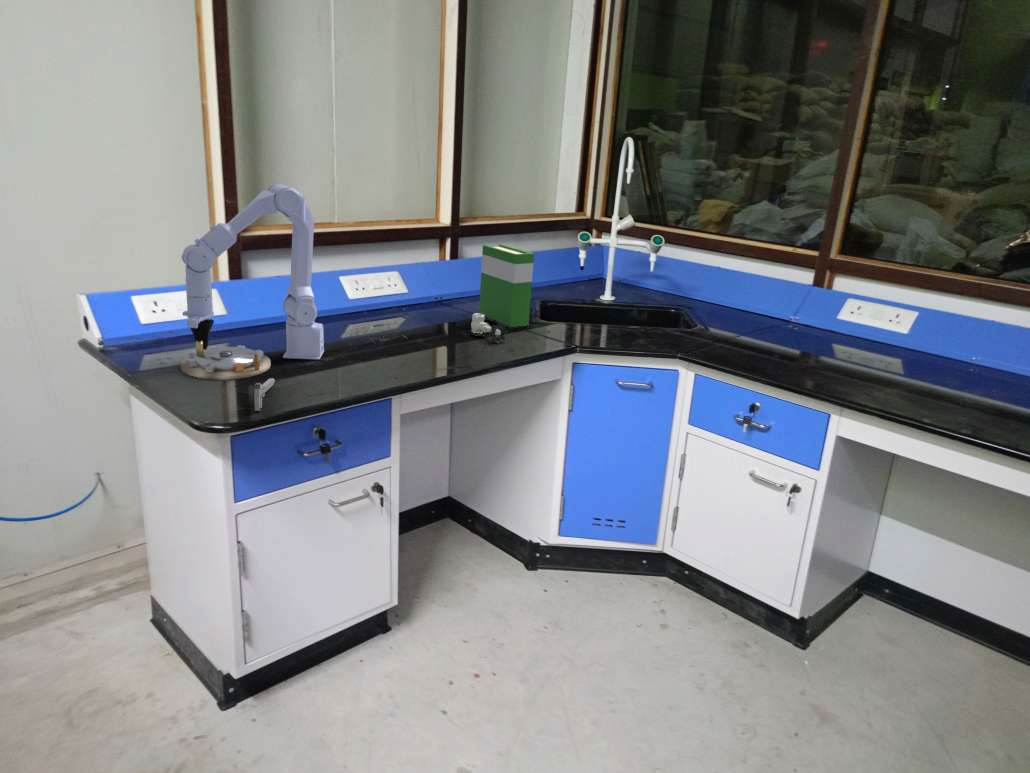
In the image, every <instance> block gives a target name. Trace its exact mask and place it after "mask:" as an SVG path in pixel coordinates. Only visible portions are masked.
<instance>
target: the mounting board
mask: <svg viewBox="0 0 1030 773" xmlns="http://www.w3.org/2000/svg"><path fill="white" fill-rule="evenodd" d="M254 357H255V365H253V366H251V367H247V368H244V371H240V372H236V371H234V370H228V371H214V372H213V373H212V372H205V369H203V368H199V367H197V366H196V367H189V366H188V365H187V359H189V356H187V357H186V358H184V359H183V360H182V361H181V362H180V370H181V372H182V373H183V374H185V375H187V376H189V377H192V376H193V377H192V378H196V377H197V379H201V378H202V379H203V380H212V381H218V380H219V381H225V380H226V381H228V380H238V379H239V380H240V379H247V378H250V377H254V376H258V375H261V374H263V373H265V372H267V371H268V370H270V368H271V366H272V364H271V362H272V361H271V358H269V357H268V356H267V355H265V354H263V357H261V358H263V364H262V365H261V366H259V354H254ZM202 379H201V380H202Z"/></svg>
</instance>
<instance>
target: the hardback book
mask: <svg viewBox="0 0 1030 773" xmlns="http://www.w3.org/2000/svg"><path fill="white" fill-rule="evenodd" d="M534 260H535V252H534V253H533V252H531V251H527V250H522V249H519V248H516V247H513V246H509V245H505V244H502V243H500V244H498V246H489V245H486V244H483V245H482V252H481V273H480V289H479V291H480V292H479V305H478V308H479V309H478V313H480V314H484V315H485V316H487V317H489V318H491V319H494V320H496V321H499V322H501V323H504V324H506V325H507V326H509V327H517V326H527V325H529V324H530V310H531V299H532V298H531V297H532V289H533V288H532V286H533V273H534ZM529 326H530V325H529Z"/></svg>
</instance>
